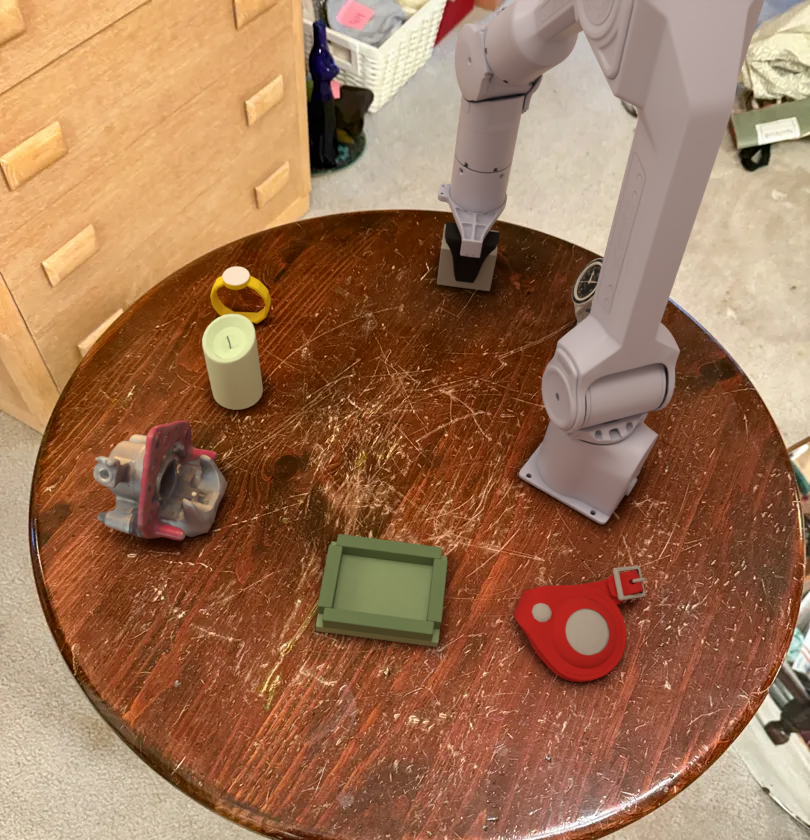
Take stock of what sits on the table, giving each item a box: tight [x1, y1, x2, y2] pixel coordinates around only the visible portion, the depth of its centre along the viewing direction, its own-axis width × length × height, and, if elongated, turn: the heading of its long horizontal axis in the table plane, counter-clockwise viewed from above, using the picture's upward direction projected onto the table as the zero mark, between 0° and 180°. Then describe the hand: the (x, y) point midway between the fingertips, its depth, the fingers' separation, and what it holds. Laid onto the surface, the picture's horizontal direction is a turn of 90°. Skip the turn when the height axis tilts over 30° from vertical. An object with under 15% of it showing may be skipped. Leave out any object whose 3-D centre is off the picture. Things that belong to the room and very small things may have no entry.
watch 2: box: [209, 266, 272, 325], centre depth 84 cm, size 6×3×6 cm, turn 86°
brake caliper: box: [92, 419, 228, 542], centre depth 71 cm, size 11×11×12 cm
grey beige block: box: [436, 223, 500, 292], centre depth 90 cm, size 6×4×5 cm, turn 83°
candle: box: [201, 314, 264, 411], centre depth 78 cm, size 5×5×8 cm
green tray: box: [315, 533, 449, 648], centre depth 70 cm, size 10×8×2 cm
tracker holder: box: [513, 565, 647, 683], centre depth 70 cm, size 12×4×10 cm
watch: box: [571, 257, 604, 328], centre depth 83 cm, size 6×8×11 cm
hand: (466, 265), depth 91 cm, fingers closed on grey beige block, 4 cm apart
